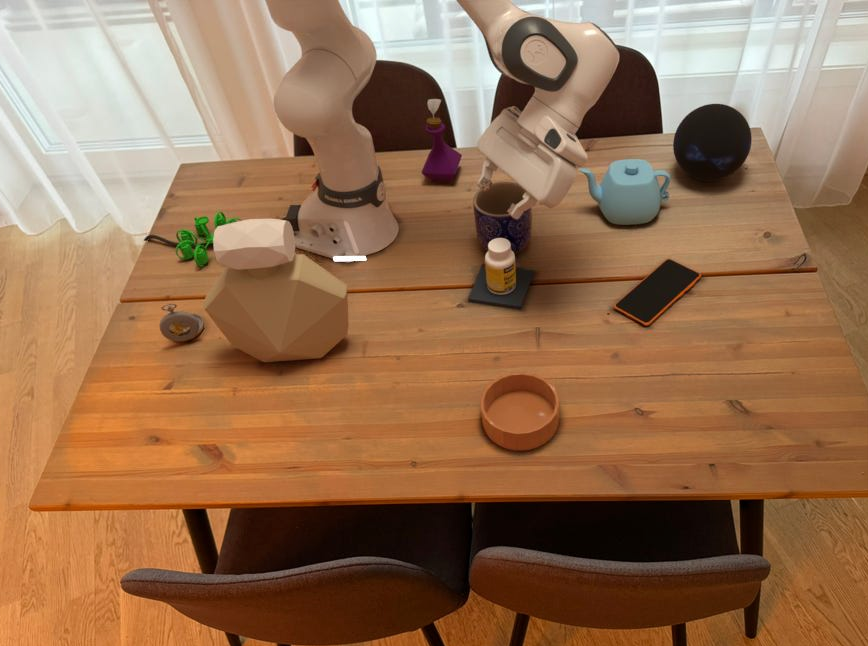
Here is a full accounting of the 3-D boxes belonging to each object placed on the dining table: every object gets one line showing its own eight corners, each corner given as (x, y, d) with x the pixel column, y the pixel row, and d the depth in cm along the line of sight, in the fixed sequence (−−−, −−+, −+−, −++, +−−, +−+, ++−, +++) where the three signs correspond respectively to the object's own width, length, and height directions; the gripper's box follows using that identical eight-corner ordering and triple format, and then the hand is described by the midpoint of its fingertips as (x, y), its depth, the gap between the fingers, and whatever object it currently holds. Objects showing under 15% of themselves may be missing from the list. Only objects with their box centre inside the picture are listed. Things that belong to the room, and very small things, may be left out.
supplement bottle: (507, 299, 135) (504, 258, 128) (481, 290, 138) (477, 249, 130) (521, 281, 138) (519, 239, 131) (496, 272, 141) (493, 231, 133)
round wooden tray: (473, 442, 116) (471, 425, 113) (494, 384, 123) (492, 366, 120) (549, 457, 113) (549, 440, 110) (565, 397, 120) (566, 379, 117)
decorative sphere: (669, 153, 162) (677, 89, 151) (741, 154, 160) (755, 89, 149) (669, 195, 153) (678, 129, 142) (746, 197, 150) (761, 130, 139)
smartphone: (612, 308, 132) (612, 305, 132) (667, 260, 139) (667, 257, 139) (647, 328, 128) (647, 324, 128) (702, 277, 135) (703, 274, 135)
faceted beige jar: (235, 330, 138) (178, 206, 117) (363, 319, 137) (329, 192, 116) (222, 379, 130) (158, 256, 109) (358, 369, 128) (321, 242, 108)
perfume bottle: (456, 187, 161) (447, 111, 148) (423, 185, 163) (411, 110, 149) (463, 167, 166) (455, 92, 153) (431, 165, 168) (420, 91, 154)
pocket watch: (204, 313, 142) (184, 273, 134) (206, 339, 137) (186, 300, 129) (168, 322, 141) (147, 283, 133) (170, 350, 136) (147, 310, 128)
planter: (532, 262, 143) (531, 215, 134) (475, 263, 144) (470, 217, 136) (533, 226, 150) (531, 179, 142) (478, 228, 151) (474, 181, 143)
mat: (468, 301, 137) (467, 298, 137) (483, 266, 143) (483, 263, 143) (521, 309, 135) (520, 306, 134) (534, 273, 141) (534, 270, 140)
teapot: (576, 149, 148) (669, 143, 146) (575, 193, 156) (663, 189, 154) (581, 186, 140) (679, 181, 138) (579, 231, 148) (672, 227, 146)
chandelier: (194, 281, 148) (181, 254, 143) (167, 245, 157) (154, 218, 152) (262, 248, 153) (251, 221, 148) (232, 214, 162) (221, 188, 157)
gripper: (497, 94, 122) (451, 166, 127) (571, 148, 110) (518, 227, 114) (520, 109, 127) (476, 179, 131) (594, 164, 114) (542, 238, 119)
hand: (496, 202), depth 123 cm, fingers open, 8 cm apart
